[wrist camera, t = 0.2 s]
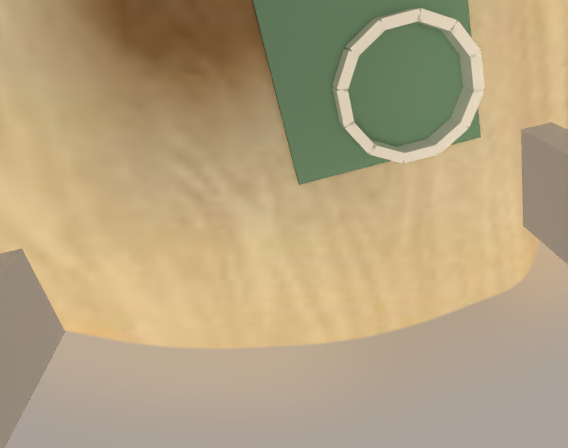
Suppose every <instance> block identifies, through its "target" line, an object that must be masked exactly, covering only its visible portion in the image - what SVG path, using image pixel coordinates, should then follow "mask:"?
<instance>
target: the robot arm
mask: <svg viewBox="0 0 568 448" xmlns="http://www.w3.org/2000/svg"><path fill="white" fill-rule="evenodd" d="M521 145H522V193H523V226H524V227H525V228H526V229H528V230H529V231H530V232H531V233H532V234H533V235H534V236H536V237H537V238H538V239H539V240H540V241H541V242H543V243H544V244H545V245H546V246H547V247H549V249H551V250H552V251H553V252H554V253H555V254H556V255H557V256H559V257H560V258H561V259H562V260H563V261H564V262H565V263H567V264H568V130H567V129H565V128H563V127H561V126H558V125H556V124H554V123H552V122H551V123H547V124H543V125H539V126H534V127H530V128H526V129H522V130H521ZM64 333H65V331H64V329H63V327H62V325H61V323H60V321H59V319H58V317H57V315H56V313H55V311H54V310H53V308H52V306H51V304H50V302H49V300H48V298H47V296H46V294H45V292H44V290H43V288H42V287H41V285H40V283H39V281H38V279H37V277H36V275H35V273H34V271H33V269H32V267H31V265H30V264H29V262H28V260H27V258H26V256H25V254H24V252H23V250H22V249H19V250H14V251H10V252H6V253H2V254H0V448H5V446H6V444H7V442H8V440H9V438H10V436H11V434H12V432H13V430H14V428H15V426H16V425H17V423H18V421H19V419H20V417H21V415H22V413H23V411H24V409H25V407H26V405H27V403H28V402H29V400H30V397H31V396H32V394H33V392H34V390H35V388H36V386H37V385H38V383H39V381H40V379H41V377H42V375H43V373H44V371H45V369H46V367H47V365H48V363H49V362H50V360H51V358H52V356H53V354H54V352H55V350H56V348H57V346H58V344H59V342H60V341H61V339H62V337H63V335H64Z"/></svg>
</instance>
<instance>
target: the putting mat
mask: <svg viewBox="0 0 568 448" xmlns="http://www.w3.org/2000/svg"><path fill="white" fill-rule="evenodd" d="M253 3H254V7H255V11H256V15H257V19H258V23H259V27H260V31H261V35H262V39H263V43H264V47H265V51H266V55H267V59H268V63H269V67H270V71H271V75H272V79H273V83H274V87H275V91H276V95H277V99H278V103H279V107H280V111H281V115H282V119H283V123H284V127H285V131H286V135H287V139H288V143H289V147H290V151H291V155H292V159H293V163H294V167H295V171H296V175H297V179H298V183H299V185H300V184H304V183H307V182H311V181H315V180H319V179H323V178H327V177H330V176H334V175H338V174H342V173H346V172H349V171H353V170H357V169H361V168H365V167H369V166H372V165H376V164H380V163H384V162H388V161H391V160H388V159H384V158H380V157H376V156H373V155H370V154H368V153H367V152H366V151H365V150H364V149H363V148H362V147H361V145H360V144H359V143H358V142H357V141H356V140H355V139H354V138H353V137H352V136H351V135H350V134H349V133H348V131H347V130H346V129H345V128H344V127H343V126H342V125H341V124H340V122H339V118H338V113H337V108H336V103H335V98H334V93H333V88H332V87H334V86H333V81H334V78H335V75H336V72H337V68H338V65H339V62H340V59H341V56H342V52H343V49H346V48H345V46H346V45H347V44H348V43H349V42H350V41H351V40H352V39H353V38H354V37H355V36H356V35H357V34H358V33H359V32H360V31H361V30H362V29H363V28H364V27H365V26H366V25H367V24H368V23H369V22H370V21H371V20H372V19H374V18H377V17H381V16H385V15H388V14H392V13H396V12H399V11H403V10H407V9H411V8H422V9H425V10H428V11H431V12H434V13H438V14H441V15H444V16H447V17H450V18H453V19H456V20H457V21H459V22H460V23H461V25H462V26H463V27H464V29H465V30H466V31H467V33H468V34H469V35H470V37H471V29H470V19H469V8H468V0H253ZM346 50H347V49H346ZM462 88H463V84H462V74H461V64H460V55H459V54H458V52H457V51H456V50H455V49H454V47H453V46H452V45H451V43H450V42H449V41H448V39H447V38H446V37H445V36H444V34H443V33H442V32H441V30H438V29H435V28H432V27H429V26H425V25H422V24H419V23H416V22H414V23H410V24H406V25H403V26H399V27H395V28H391V29H388V30H385V31H384V32H383V33H382V34H381V35H380V36H379V37H378V38H377V39H376V40H375V41H374V42H373V43H372V44H371V45H370V46H368V47H367V48H366V49H365V50H364V51H363V52H362V53H361V54H360V55H359V57H358V60H357V63H356V67H355V70H354V73H353V76H352V79H351V82H350V85H349V88H348V93H349V98H350V103H351V108H352V113H353V118H354V123H355V124H356V125H357V126H358V127H359V128H360V129H361V130H362V131H363V133H364V134H365V135H366V136H367V137H368V138H369V139H371V140H374V141H378V142H382V143H385V144H389V145H393V146H396V147H398V146H402V145H406V144H409V143H413V142H417V141H421V140H425V139H427V138H428V137H429V136H431V135H432V134H433V133H434V132H435V131H436V130H437V129H438V128H439V127H441V126H442V125H443V124H444V123H445V122H446V121H447V120H448V119H449V118H451V115H452V113H453V110H454V108H455V105H456V103H457V100H458V98H459V95H460V93H461V90H462ZM466 127H467V126H466ZM467 128H468V130H466V131H465V132H464V133H463V134H462V135H461V136H460V137H459V138H457V139H456V140H455V141H454V142H453V143H452V144H451V145H453V144H456V143H460V142H464V141H468V140H472V139H476V138H479V137H481V136H480V125H479V115H478V108H477V111H476V113H475V115H474V118H473V120H472V122H471V125H470V127H467Z"/></svg>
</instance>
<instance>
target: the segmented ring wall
mask: <svg viewBox="0 0 568 448" xmlns="http://www.w3.org/2000/svg"><path fill="white" fill-rule="evenodd" d="M414 22H416V23H419V24H422V25H425V26H429V27H432V28H435V29H438V30H441V32H442V33H443V34H444V36H445V37H446V38H447V39H448V41H449V42H450V43H451V45H452V46H453V47H454V49H455V50H456V51H457V52H458V54H459V55H460V64H461V74H462V84H463V88H462V90H461V93H460V95H459V98H458V100H457V103H456V105H455V108H454V110H453V113H452V115H451V118H449V119H448V120H447V121H446V122H445V123H444V124H443V125H442V126H441V127H439V128H438V129H437V130H436V131H435V132H434V133H433V134H432V135H431V136H429V137H428V138H427V139H425V140H421V141H417V142H413V143H409V144H406V145H402V146H398V147H396V146H393V145H389V144H385V143H382V142H378V141H374V140H371V139H369V138H368V137H367V136H366V135H365V134H364V133H363V131H362V130H361V129H360V128H359V127H358V126H357V125H356V124H355V123H354V118H353V113H352V108H351V103H350V98H349V93H348V88H349V85H350V82H351V79H352V76H353V73H354V70H355V67H356V63H357V60H358V57H359V55H360V54H361V53H362V52H363V51H364V50H365V49H366V48H367V47H368V46H370V45H371V44H372V43H373V42H374V41H375V40H376V39H377V38H378V37H379V36H380V35H381V34H382V33H383V32H384V31H385V30H388V29H391V28H395V27H399V26H403V25H406V24H410V23H414ZM345 48H346V49H347V50H346V49H343V52H342V56H341V59H340V62H339V65H338V68H337V72H336V75H335V78H334V81H333V86H334V87H332V88H333V93H334V98H335V103H336V108H337V113H338V118H339V122H340V124H341V125H342V126H343V127H344V128H345V129H346V130H347V131H348V133H349V134H350V135H351V136H352V137H353V138H354V139H355V140H356V141H357V142H358V143H359V144H360V145H361V147H362V148H363V149H364V150H365V151H366V152H367V153H368V154H370V155H373V156H376V157H380V158H384V159H388V160H391V161H395V162H399V163H408V162H412V161H416V160H419V159H423V158H427V157H431V156H435V155H439V154H438V152H439V153H442V152H443V151H444V150H445V149H446V148H447V147H448V146H449V145H451V144H452V143H453V142H454V141H455V140H456V139H457V138H459V137H460V136H461V135H462V134H463V133H464V132H465V131H466V130H468V128H467V127H470V125H471V122H472V120H473V118H474V115H475V113H476V111H477V108H478V106H479V103H480V101H481V99H482V96H483V94H484V92H483V91H482V90H485V88H484V76H483V65H482V53H481V52H480V51H481V50H480V49H479V47H478V46H477V45H476V43H475V42H474V41H473V39H472V38H471V37H470V35H469V34H468V33H467V31H466V30H465V29H464V27H463V26H462V25H461V23H460V22H459V21H457V20H456V19H453V18H450V17H447V16H444V15H441V14H438V13H434V12H431V11H428V10H425V9H422V8H411V9H407V10H403V11H399V12H396V13H392V14H388V15H385V16H381V17H377V18H374V19H372V20H371V21H370V22H369V23H368V24H367V25H366V26H365V27H364V28H363V29H362V30H361V31H360V32H359V33H358V34H357V35H356V36H355V37H354V38H353V39H352V40H351V41H350V42H349V43H348V44H347V45H346V46H345ZM466 126H467V127H466Z"/></svg>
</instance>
